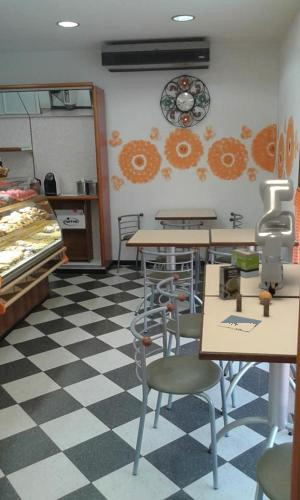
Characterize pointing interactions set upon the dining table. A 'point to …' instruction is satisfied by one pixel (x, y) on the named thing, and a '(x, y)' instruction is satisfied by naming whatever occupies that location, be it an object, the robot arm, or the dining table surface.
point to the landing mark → (240, 320)
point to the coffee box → (229, 281)
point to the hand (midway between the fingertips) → (271, 295)
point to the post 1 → (238, 302)
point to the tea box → (246, 262)
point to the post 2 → (266, 307)
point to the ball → (265, 296)
